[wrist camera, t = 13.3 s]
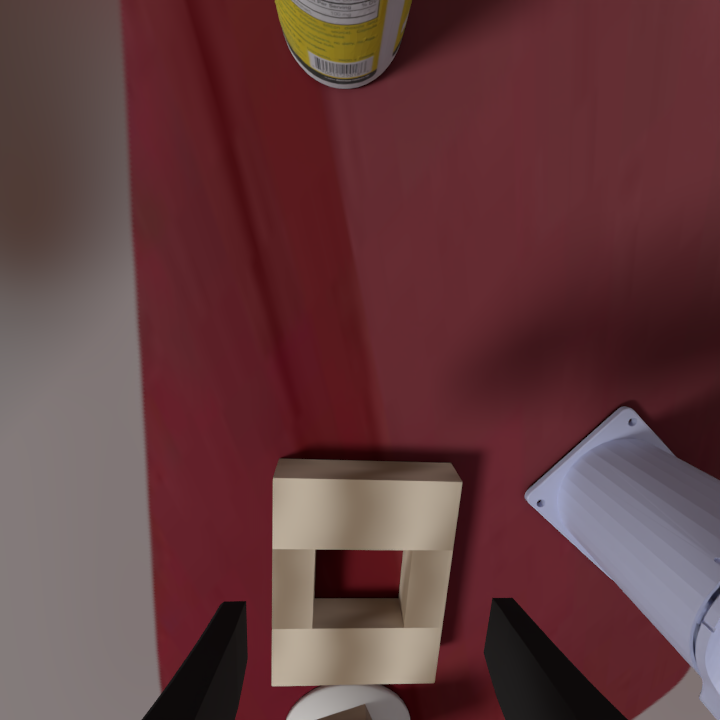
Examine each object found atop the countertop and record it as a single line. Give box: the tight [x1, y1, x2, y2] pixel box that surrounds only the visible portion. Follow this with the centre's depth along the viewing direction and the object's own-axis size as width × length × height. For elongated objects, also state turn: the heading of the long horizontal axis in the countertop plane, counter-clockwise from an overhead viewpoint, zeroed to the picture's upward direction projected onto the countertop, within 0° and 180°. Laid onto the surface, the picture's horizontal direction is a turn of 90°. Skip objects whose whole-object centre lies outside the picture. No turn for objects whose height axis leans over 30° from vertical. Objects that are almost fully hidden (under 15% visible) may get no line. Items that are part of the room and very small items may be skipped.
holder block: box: [272, 459, 462, 686], centre depth 21 cm, size 10×14×2 cm
